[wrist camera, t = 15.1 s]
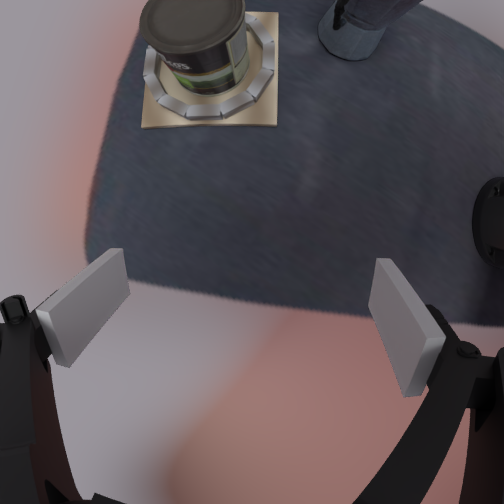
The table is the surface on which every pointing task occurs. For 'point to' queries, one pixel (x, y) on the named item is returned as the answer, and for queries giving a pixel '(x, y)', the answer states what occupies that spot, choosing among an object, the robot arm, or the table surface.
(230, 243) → the table surface
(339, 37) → the moka pot
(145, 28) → the coffee can
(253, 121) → the ring board
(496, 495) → the robot arm
